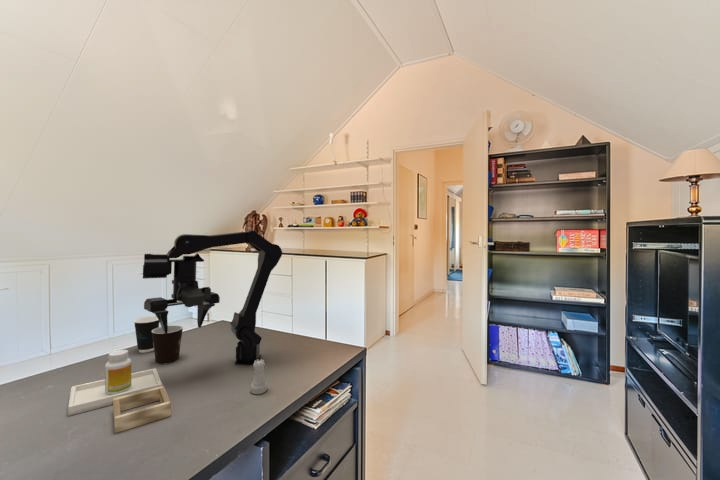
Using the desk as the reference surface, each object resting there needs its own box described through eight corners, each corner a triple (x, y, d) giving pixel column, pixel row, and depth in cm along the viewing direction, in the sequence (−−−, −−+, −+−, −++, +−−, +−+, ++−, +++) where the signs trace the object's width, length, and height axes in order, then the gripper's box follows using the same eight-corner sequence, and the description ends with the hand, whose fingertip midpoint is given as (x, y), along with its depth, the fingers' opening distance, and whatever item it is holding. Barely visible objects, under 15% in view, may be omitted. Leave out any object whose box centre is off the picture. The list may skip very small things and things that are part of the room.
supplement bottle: (136, 387, 82) (136, 350, 82) (112, 397, 77) (113, 358, 77) (123, 382, 85) (123, 347, 84) (100, 392, 80) (100, 354, 79)
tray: (155, 374, 91) (155, 368, 91) (161, 391, 82) (162, 384, 82) (71, 394, 80) (71, 386, 80) (68, 416, 71) (68, 407, 71)
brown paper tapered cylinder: (172, 365, 98) (172, 333, 97) (144, 365, 98) (145, 333, 97) (192, 351, 109) (193, 323, 109) (168, 350, 109) (168, 322, 109)
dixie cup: (161, 344, 115) (161, 314, 115) (159, 352, 108) (159, 320, 108) (135, 347, 111) (135, 317, 111) (131, 356, 104) (131, 323, 104)
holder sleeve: (163, 397, 79) (163, 385, 79) (170, 415, 72) (170, 402, 71) (113, 411, 73) (113, 398, 73) (114, 433, 65) (114, 418, 65)
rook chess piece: (270, 388, 85) (271, 359, 85) (260, 396, 81) (261, 365, 81) (257, 385, 87) (257, 356, 86) (246, 393, 82) (246, 362, 82)
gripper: (159, 283, 79) (157, 344, 79) (229, 277, 94) (227, 329, 94) (144, 278, 86) (142, 335, 86) (211, 274, 101) (210, 322, 101)
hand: (183, 330), depth 92 cm, fingers open, 9 cm apart
